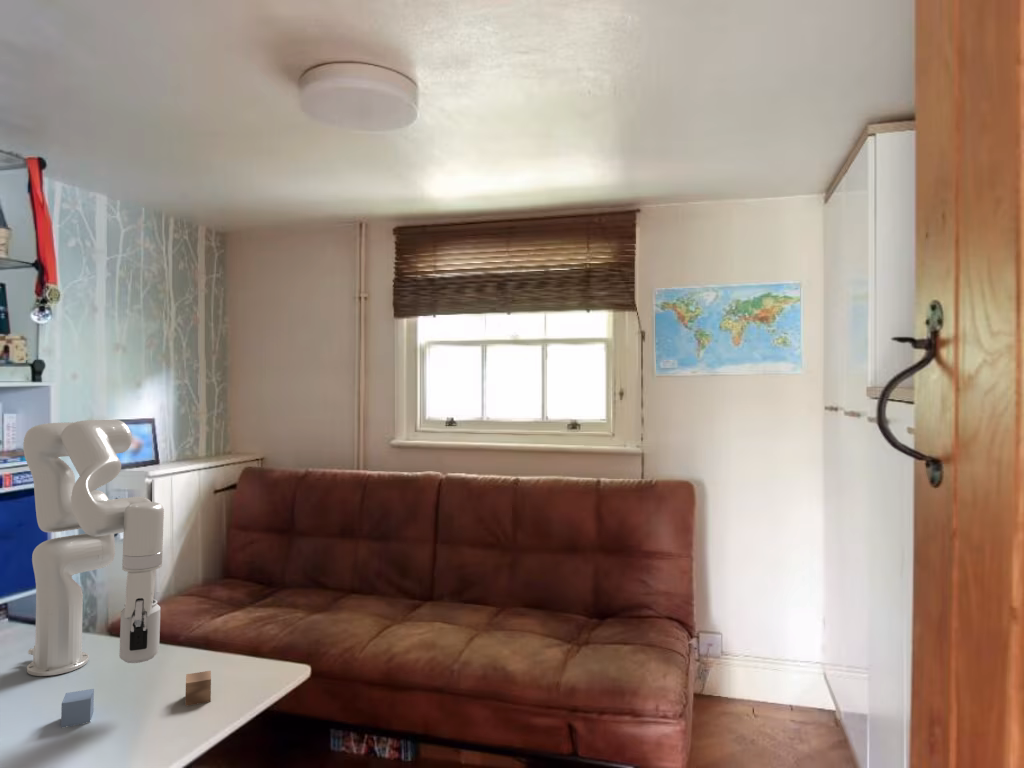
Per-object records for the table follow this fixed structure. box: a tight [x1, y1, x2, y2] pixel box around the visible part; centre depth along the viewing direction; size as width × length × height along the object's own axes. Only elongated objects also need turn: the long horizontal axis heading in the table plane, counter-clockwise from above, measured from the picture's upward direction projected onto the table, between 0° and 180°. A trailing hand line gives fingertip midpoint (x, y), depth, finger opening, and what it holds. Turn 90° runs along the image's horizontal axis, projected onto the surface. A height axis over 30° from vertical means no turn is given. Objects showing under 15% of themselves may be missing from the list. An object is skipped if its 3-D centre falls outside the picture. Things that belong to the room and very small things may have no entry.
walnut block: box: [184, 670, 212, 707], centre depth 147 cm, size 5×5×5 cm
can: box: [118, 598, 162, 664], centre depth 142 cm, size 8×8×12 cm
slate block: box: [60, 688, 95, 728], centre depth 137 cm, size 5×5×5 cm
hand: (139, 641), depth 142 cm, fingers closed on can, 7 cm apart
